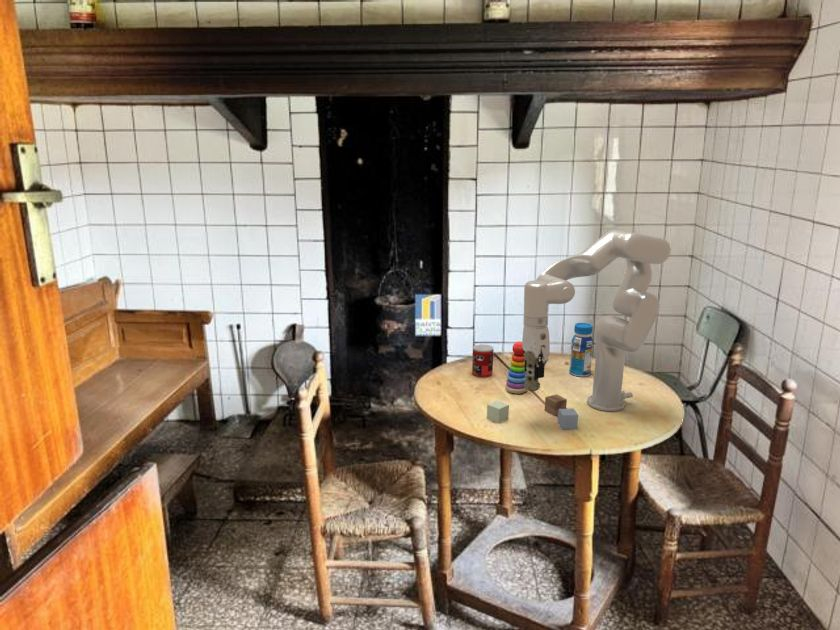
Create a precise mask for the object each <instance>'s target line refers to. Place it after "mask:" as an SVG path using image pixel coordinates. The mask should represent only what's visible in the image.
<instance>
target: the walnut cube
mask: <svg viewBox="0 0 840 630" xmlns="http://www.w3.org/2000/svg"><path fill="white" fill-rule="evenodd" d="M567 401H568V399H567V398H565V397H563V396H561V395H559V394H552V395H549V396H545V400H544V411H545V412H547V413H548V414H550V415H552V416H558V410H559V409H567V403H568V402H567Z"/></svg>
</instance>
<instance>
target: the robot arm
mask: <svg viewBox="0 0 840 630" xmlns="http://www.w3.org/2000/svg"><path fill="white" fill-rule="evenodd" d="M671 250H672V248H671V246H670V243H669V242H668V241H667V240H666V239H665V238H661V237H656V236H652V235H646V234H642V233H637V232H632V231H627V230H621V229H610V230H608V231H607V232H605V233H604V234H603V235H601V236H600V237H599V238H598V239H596V240H595V241H594V242H593V243H592V244H590V245H589V246H588V247H586V248H585V249H584V250H583V251H581V252H580V253H577V254H575V255H572V256H570V257H567V258H564V259H562V260H559V261H557V262H555V263H554V264H551V265H550V266H549V267H548V268H546V269H545V270H544V271H543V272H542V273H540V275H538V276H537V278H536V279H534V280H529V281H527V282H526V283H525V284H524V288H523V289H524V294H523V296H524V297H523V329H522V341H521V342H522V347H523V352H524V359H525V369H524V370H525V371H526V364H527V362H526V361H527V359H526V358H525V352H527V351H528V352H531V354H532V355H534V357H535V358H536V361H535V363H536V366H535V371H534V378H535V379H537V378H538V379H541V378H542V379H543V378H544V377H545V366H546V364H547V363H548V362H549V357H550V352H551V351H550V347H551V346H550V344H551V343H550V330H549V326H548V325H549V305H552V304H553V305H565V304H567V303H569V302H571V301H573V299H574V297H575V294H576V289H575V286H574V285H573V284H572V283H571V282H570V281H569V280H570V279H576V278H583V277H584V278H585V277H591V276H595V275H598V274H599V273H601V272H602V271H603V270H604V269H605V268H607V267H608V266H609V265H611V263H613V262H614V261H615V260H616V259H618V258H621V259H625V260H626V270H625V274H624V277H623V279H622V281H621V283H620V285H619V287H618V289H617V291H616V293H615V295H614V297H613V300H612V308H613V310H614V311H615V312H617V314H620V315H622V316H626V317H627V318H629V320H626V319H624V318H621V317H620V316H619V317H618V316H615V315H610V314H609V315H604V316H602V317H601V318H599V319H598V320H597V322H596V324H595V327H594V328H595V329H594V337H595V338H594V339H595V344H596V345H595V360H594V361H595V362H594V371H593V375H594V376H593V384H592V394H591V395H590V396H588V397H587V399H586V400H587V401H586V403H587V405H588V406H589V407H591V408H593V409H594V410H598V411H604V412H618V411H622V410H623V409H624V408H625V406H626V403H625V401H624V400H626V399H629V398H630V399H631V398H633V397H634V395H633V392H631V391H629V392H626V391H625V390H622V389H623V380H624V368H625V361H626V359H625V358H626V355H625V352H627V353H634V352H637V351H639V350H640V349H641V348H642V347H643V346H644V344H645V342H646V341H647V338H648V337H649V334H650V333H651V330H652V328H653V326H654V324H655V322H656V320H657V318H658V315H659V312H660V301H659V299H658V297H657V296H656V295H654V294H653V293H650V292H648V288H649V286H650V284H651V282H652V278H653V271H652V266H651V265H662V264H663V263H665V262H666V261H667V260H668V259H669V257H670V256H671ZM531 347H532V348H531ZM539 354H541V355H542V359H541V360H540V358H541V357H539ZM538 359H539V361H538Z"/></svg>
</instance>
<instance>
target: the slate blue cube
mask: <svg viewBox="0 0 840 630" xmlns="http://www.w3.org/2000/svg"><path fill="white" fill-rule="evenodd" d="M578 422H579V414H578V411H576V410H575V408H566V409H559V410H558V415H557V424H558V425H560V426H559V427H560V429H561V428H562V429H567V430H578V427H579V426H578V425H579V423H578ZM562 429H561V430H562Z"/></svg>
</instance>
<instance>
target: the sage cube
mask: <svg viewBox="0 0 840 630" xmlns="http://www.w3.org/2000/svg"><path fill="white" fill-rule="evenodd" d="M486 406H487V407H486V419H488V420H489V421H493V422H495V423H497V424H500V423H502V422H504V421H506V420H509V409H510V405H509V404H508V403H505V402H503V401H500V400H495V401H493V402H490V403H488V404H487V405H486Z"/></svg>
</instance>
